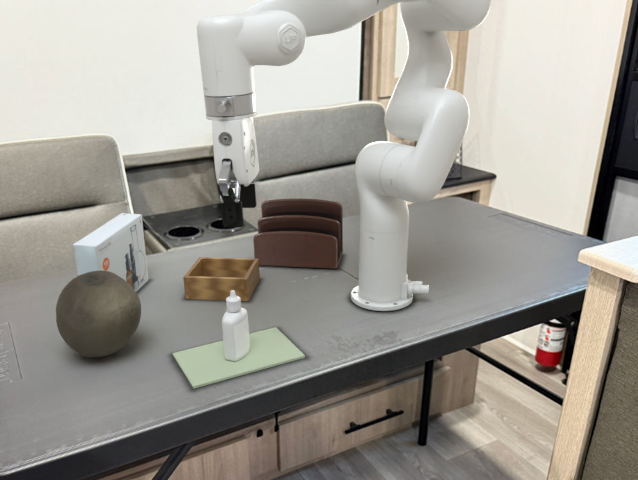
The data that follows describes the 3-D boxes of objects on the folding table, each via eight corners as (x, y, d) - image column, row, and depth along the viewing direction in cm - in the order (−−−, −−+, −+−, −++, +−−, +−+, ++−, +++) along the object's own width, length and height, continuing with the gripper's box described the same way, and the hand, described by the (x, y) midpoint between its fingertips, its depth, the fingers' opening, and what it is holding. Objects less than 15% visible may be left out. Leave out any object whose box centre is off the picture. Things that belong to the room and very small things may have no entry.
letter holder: (264, 251, 151) (261, 196, 146) (343, 254, 148) (343, 198, 142) (254, 266, 143) (250, 208, 137) (337, 270, 139) (337, 210, 133)
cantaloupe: (68, 381, 99) (50, 298, 93) (61, 343, 111) (44, 268, 105) (153, 361, 104) (142, 281, 98) (138, 327, 116) (126, 254, 110)
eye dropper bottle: (258, 353, 104) (254, 290, 99) (230, 364, 102) (224, 300, 96) (244, 344, 108) (240, 282, 103) (217, 354, 105) (211, 291, 100)
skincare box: (108, 322, 119) (95, 245, 112) (83, 320, 120) (68, 244, 113) (151, 280, 137) (142, 212, 131) (129, 278, 138) (118, 211, 132)
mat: (276, 329, 113) (275, 326, 113) (305, 357, 104) (305, 355, 103) (172, 355, 106) (172, 353, 106) (193, 389, 96) (193, 386, 96)
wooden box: (259, 279, 135) (258, 258, 133) (248, 301, 125) (246, 279, 123) (201, 277, 138) (199, 257, 135) (185, 299, 127) (183, 277, 125)
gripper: (242, 115, 82) (252, 235, 89) (265, 97, 97) (272, 200, 104) (189, 117, 83) (203, 235, 90) (220, 99, 98) (230, 201, 106)
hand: (240, 216), depth 97 cm, fingers open, 9 cm apart
